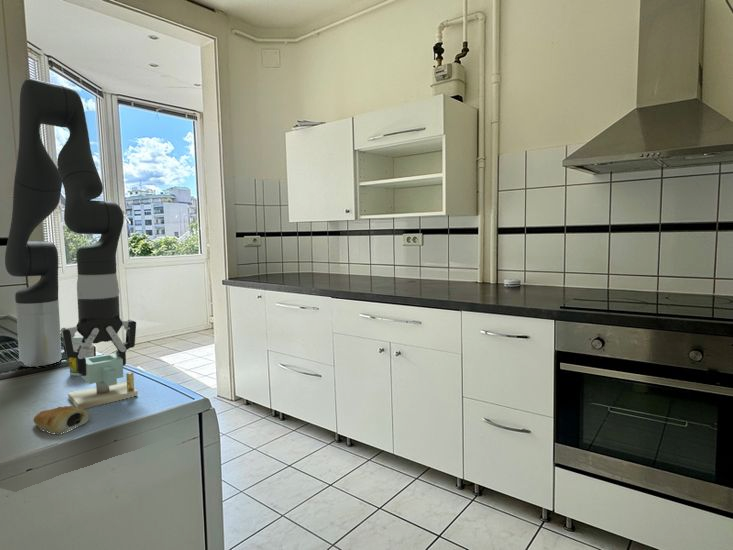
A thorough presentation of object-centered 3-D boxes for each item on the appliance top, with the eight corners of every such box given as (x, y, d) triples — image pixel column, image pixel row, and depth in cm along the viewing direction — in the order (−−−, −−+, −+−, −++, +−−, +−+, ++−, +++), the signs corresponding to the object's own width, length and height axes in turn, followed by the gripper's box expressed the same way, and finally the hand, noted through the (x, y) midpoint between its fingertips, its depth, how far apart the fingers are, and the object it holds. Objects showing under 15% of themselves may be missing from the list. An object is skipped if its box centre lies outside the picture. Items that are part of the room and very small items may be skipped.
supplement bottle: (94, 374, 109) (92, 337, 108) (68, 377, 107) (66, 339, 106) (95, 368, 114) (94, 332, 113) (71, 371, 111) (69, 334, 111)
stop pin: (126, 390, 95) (125, 373, 94) (133, 388, 96) (132, 372, 95) (128, 391, 94) (127, 374, 94) (135, 390, 95) (134, 373, 95)
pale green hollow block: (81, 376, 93) (80, 358, 93) (114, 370, 98) (113, 353, 98) (94, 389, 86) (93, 369, 86) (129, 381, 91) (128, 362, 90)
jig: (68, 398, 93) (66, 370, 93) (124, 386, 101) (123, 360, 100) (78, 410, 87) (77, 380, 86) (137, 396, 95) (136, 368, 94)
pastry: (22, 430, 78) (21, 409, 78) (58, 415, 85) (58, 397, 84) (59, 438, 75) (58, 416, 75) (94, 422, 82) (93, 403, 82)
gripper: (129, 290, 100) (132, 361, 101) (53, 296, 89) (58, 375, 91) (140, 293, 94) (143, 368, 96) (61, 300, 84) (66, 383, 86)
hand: (102, 371), depth 93 cm, fingers closed on pale green hollow block, 6 cm apart
